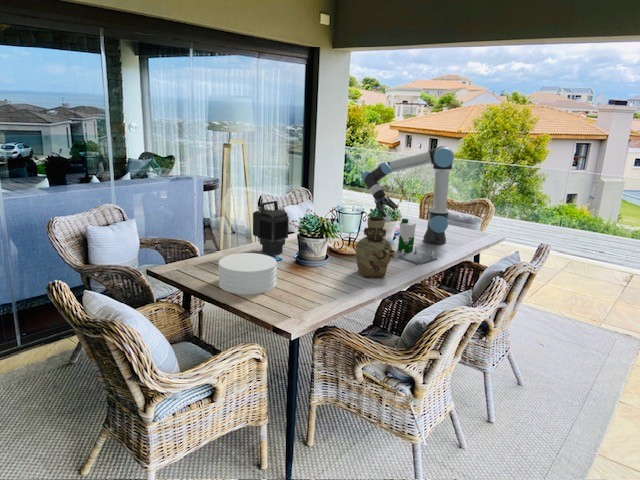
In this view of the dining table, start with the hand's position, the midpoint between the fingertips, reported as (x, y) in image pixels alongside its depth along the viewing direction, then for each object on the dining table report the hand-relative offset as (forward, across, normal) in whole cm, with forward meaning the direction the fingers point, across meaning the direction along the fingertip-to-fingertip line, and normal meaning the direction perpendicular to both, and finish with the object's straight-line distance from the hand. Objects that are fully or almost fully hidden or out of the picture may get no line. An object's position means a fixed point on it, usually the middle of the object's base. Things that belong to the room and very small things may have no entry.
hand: (394, 219), depth 305 cm
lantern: (-18, +66, -44) cm, 82 cm away
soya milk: (+20, 0, -6) cm, 21 cm away
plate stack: (+4, +111, -22) cm, 113 cm away
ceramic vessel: (+27, +50, +1) cm, 57 cm away
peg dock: (+30, +9, +4) cm, 31 cm away
